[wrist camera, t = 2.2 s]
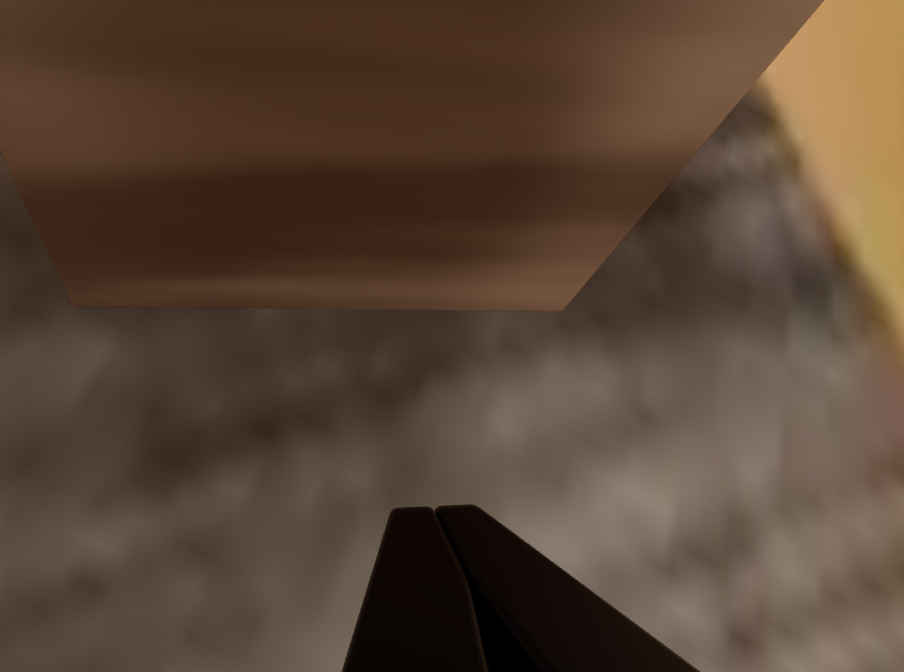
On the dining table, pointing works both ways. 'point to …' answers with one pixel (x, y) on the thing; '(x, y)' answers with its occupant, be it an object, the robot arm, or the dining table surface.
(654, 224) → the dining table surface
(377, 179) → the walnut block
